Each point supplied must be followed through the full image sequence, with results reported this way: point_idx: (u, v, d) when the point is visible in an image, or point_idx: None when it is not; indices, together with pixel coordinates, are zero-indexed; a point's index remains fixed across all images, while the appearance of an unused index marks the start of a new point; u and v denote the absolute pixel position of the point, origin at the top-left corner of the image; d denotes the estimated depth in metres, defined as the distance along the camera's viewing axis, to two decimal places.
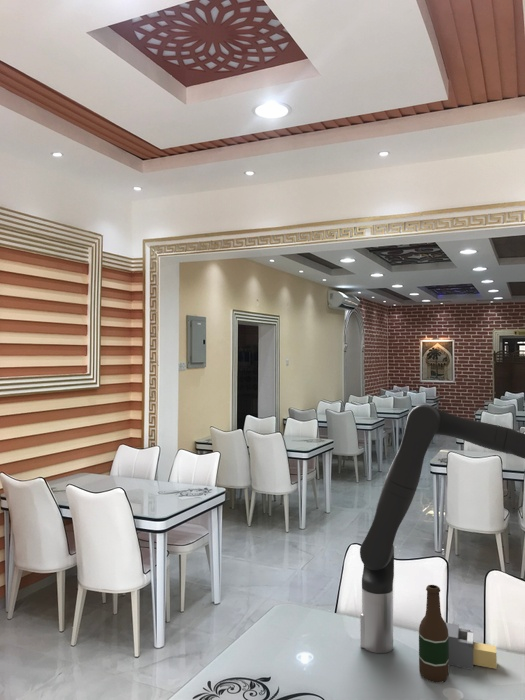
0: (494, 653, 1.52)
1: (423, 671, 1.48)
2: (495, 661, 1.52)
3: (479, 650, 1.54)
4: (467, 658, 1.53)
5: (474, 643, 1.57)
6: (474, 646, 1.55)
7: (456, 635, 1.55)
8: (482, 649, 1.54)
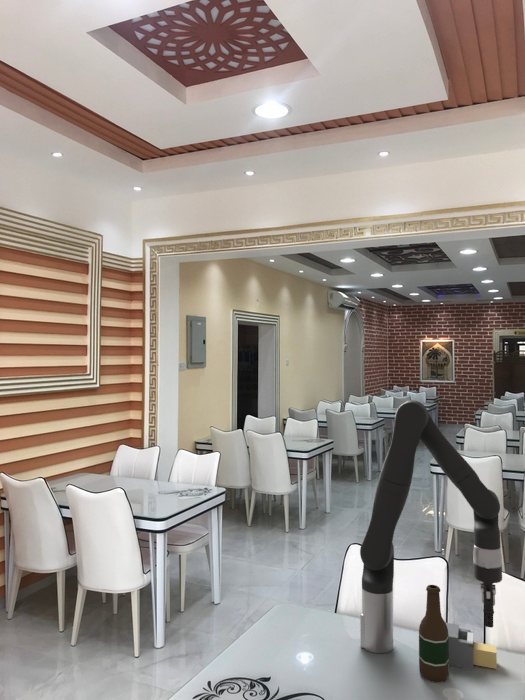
0: (494, 653, 1.52)
1: (423, 671, 1.48)
2: (495, 661, 1.52)
3: (479, 650, 1.54)
4: (467, 658, 1.53)
5: (474, 643, 1.57)
6: (474, 646, 1.55)
7: (456, 635, 1.55)
8: (482, 649, 1.54)
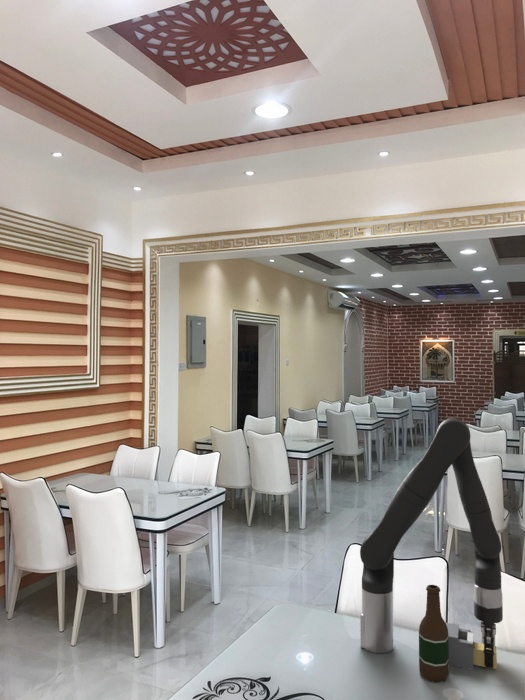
0: (494, 653, 1.52)
1: (423, 671, 1.48)
2: (495, 661, 1.52)
3: (479, 650, 1.54)
4: (467, 658, 1.53)
5: (474, 643, 1.57)
6: (474, 646, 1.55)
7: (456, 635, 1.55)
8: (482, 649, 1.54)
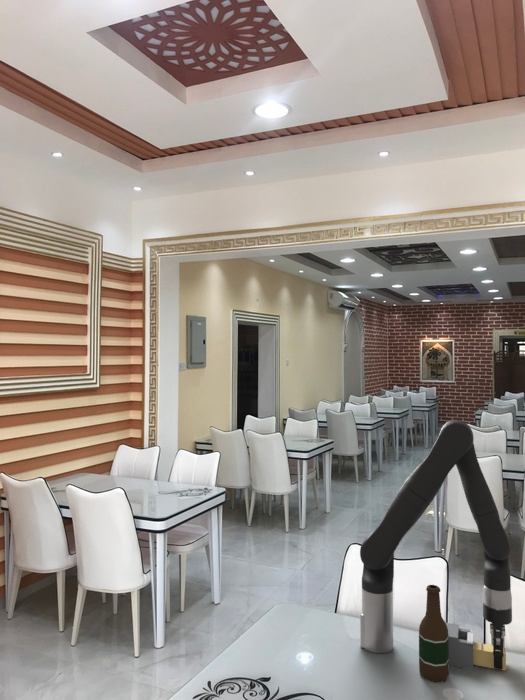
0: None
1: (423, 671, 1.48)
2: (504, 663, 1.51)
3: (488, 652, 1.53)
4: (467, 658, 1.53)
5: (483, 645, 1.56)
6: (483, 648, 1.54)
7: (456, 635, 1.55)
8: (491, 651, 1.53)
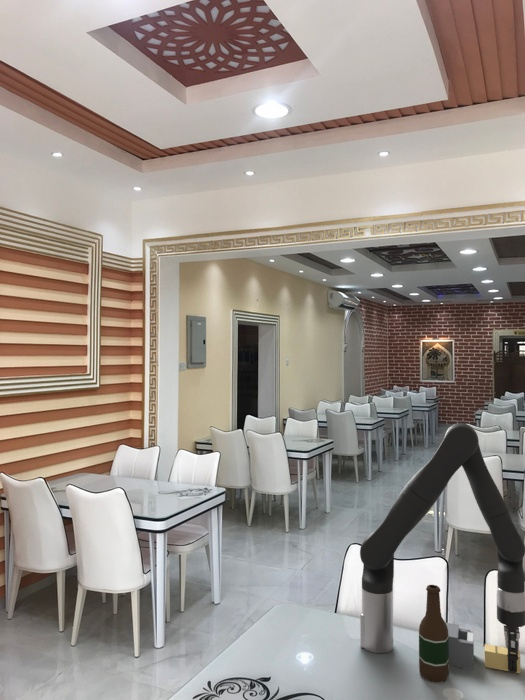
0: (518, 657, 1.50)
1: (423, 671, 1.48)
2: (519, 665, 1.50)
3: (502, 655, 1.51)
4: (467, 658, 1.53)
5: (497, 647, 1.55)
6: (497, 650, 1.53)
7: (456, 635, 1.55)
8: (506, 654, 1.51)
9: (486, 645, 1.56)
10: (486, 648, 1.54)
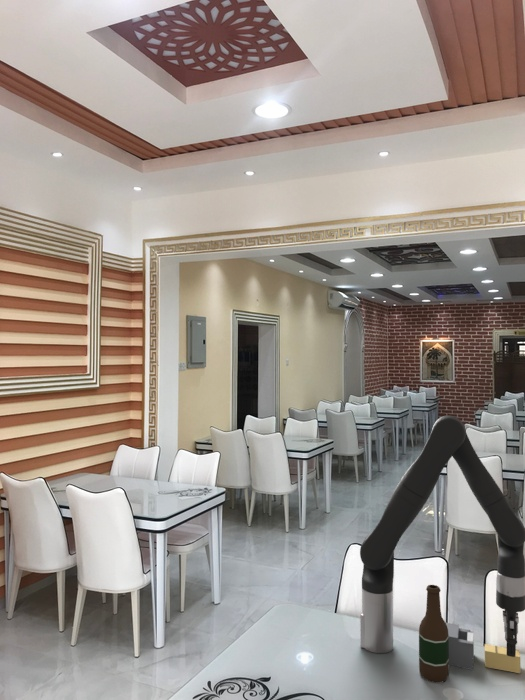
0: (518, 657, 1.50)
1: (423, 671, 1.48)
2: (519, 665, 1.50)
3: (502, 655, 1.51)
4: (467, 658, 1.53)
5: (497, 647, 1.55)
6: (497, 650, 1.53)
7: (456, 635, 1.55)
8: (506, 654, 1.51)
9: (486, 645, 1.56)
10: (486, 648, 1.54)
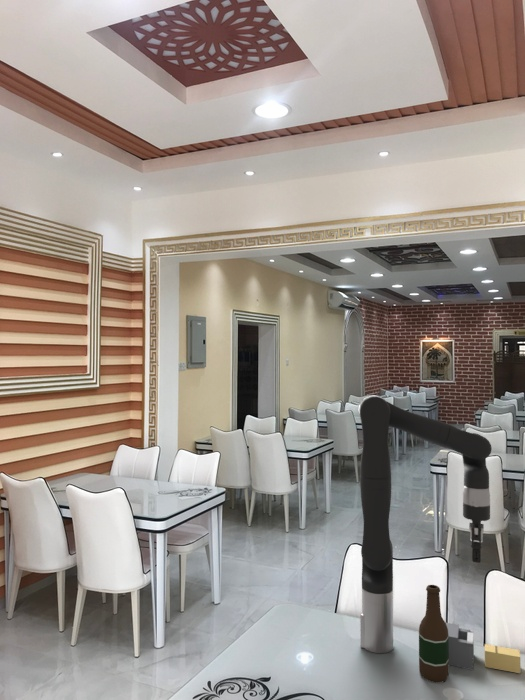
0: (518, 657, 1.50)
1: (423, 671, 1.48)
2: (519, 665, 1.50)
3: (502, 655, 1.51)
4: (467, 658, 1.53)
5: (497, 647, 1.55)
6: (497, 650, 1.53)
7: (456, 635, 1.55)
8: (506, 654, 1.51)
9: (486, 645, 1.56)
10: (486, 648, 1.54)
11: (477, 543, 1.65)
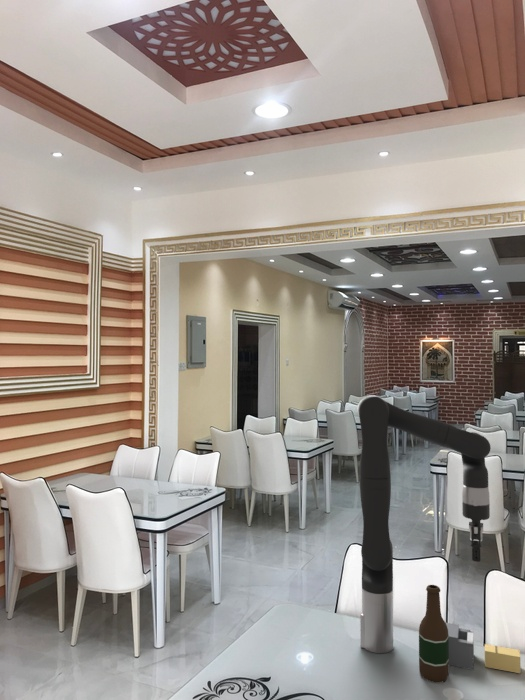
0: (518, 657, 1.50)
1: (423, 671, 1.48)
2: (519, 665, 1.50)
3: (502, 655, 1.51)
4: (467, 658, 1.53)
5: (497, 647, 1.55)
6: (497, 650, 1.53)
7: (456, 635, 1.55)
8: (506, 654, 1.51)
9: (486, 645, 1.56)
10: (486, 648, 1.54)
11: (477, 542, 1.65)
